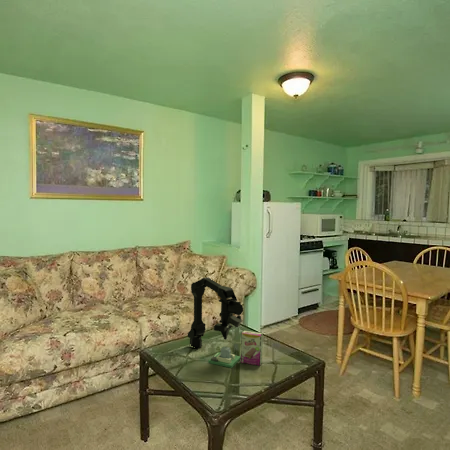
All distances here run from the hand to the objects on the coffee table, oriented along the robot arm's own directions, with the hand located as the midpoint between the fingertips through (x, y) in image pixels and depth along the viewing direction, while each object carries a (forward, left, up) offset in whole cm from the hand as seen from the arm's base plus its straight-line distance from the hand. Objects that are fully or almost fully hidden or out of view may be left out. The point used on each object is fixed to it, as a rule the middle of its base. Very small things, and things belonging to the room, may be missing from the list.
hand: (225, 339), depth 174 cm
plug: (0, -1, -10) cm, 11 cm away
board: (0, 0, -12) cm, 12 cm away
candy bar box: (+14, +4, -12) cm, 19 cm away
